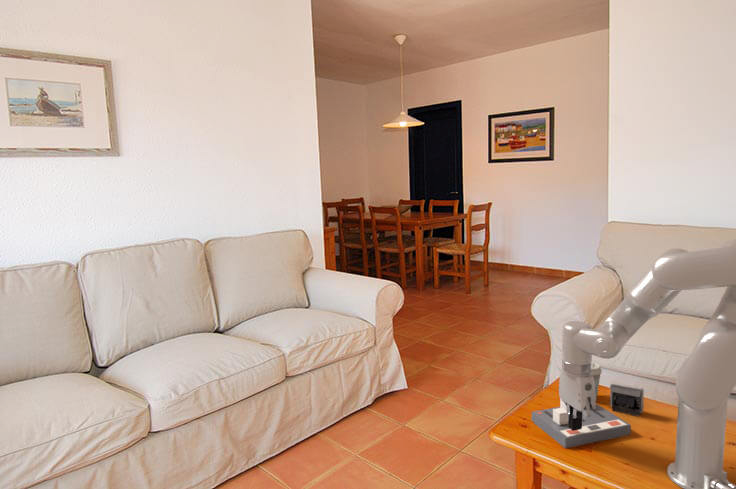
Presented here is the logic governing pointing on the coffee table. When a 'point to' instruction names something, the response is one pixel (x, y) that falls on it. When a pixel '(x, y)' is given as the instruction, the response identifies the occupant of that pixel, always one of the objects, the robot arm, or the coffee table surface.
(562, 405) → the middle switch
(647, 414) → the coffee table surface
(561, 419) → the left switch
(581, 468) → the coffee table surface
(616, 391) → the electrical switch
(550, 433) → the switch unit
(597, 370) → the coffee cup
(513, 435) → the coffee table surface
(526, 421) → the coffee table surface
